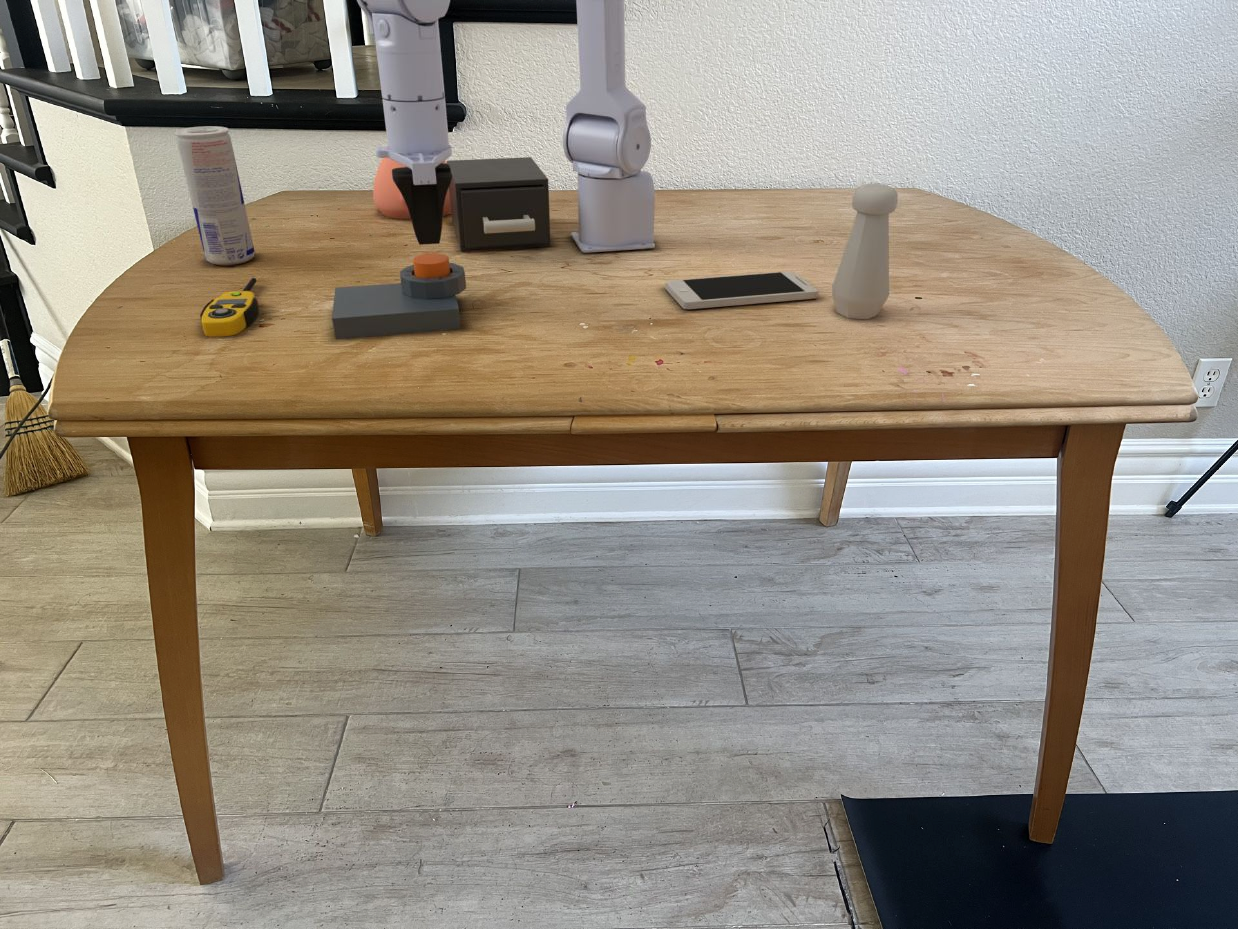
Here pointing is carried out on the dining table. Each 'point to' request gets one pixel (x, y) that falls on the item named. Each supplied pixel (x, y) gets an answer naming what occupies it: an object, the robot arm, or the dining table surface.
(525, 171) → the small drawer cabinet
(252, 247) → the beverage can
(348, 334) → the block
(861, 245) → the salt shaker
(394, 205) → the teapot
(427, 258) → the button
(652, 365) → the dining table surface
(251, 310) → the yellow walkie talkie
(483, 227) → the pull-out drawer
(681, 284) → the smartphone
